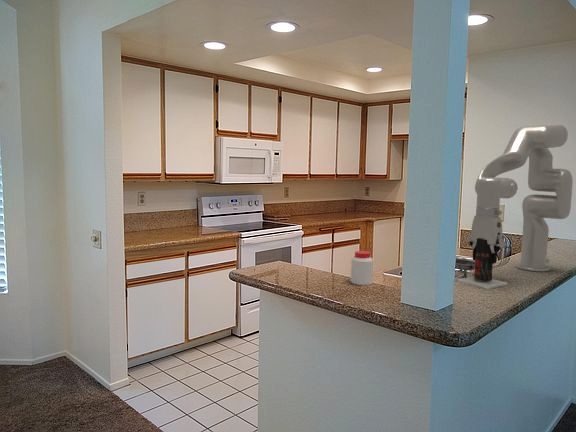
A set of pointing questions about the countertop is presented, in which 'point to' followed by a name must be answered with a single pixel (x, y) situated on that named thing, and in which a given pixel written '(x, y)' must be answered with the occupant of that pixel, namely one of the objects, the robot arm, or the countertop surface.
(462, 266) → the ring stand
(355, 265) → the pill bottle
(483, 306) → the countertop surface
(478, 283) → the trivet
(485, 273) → the deodorant
